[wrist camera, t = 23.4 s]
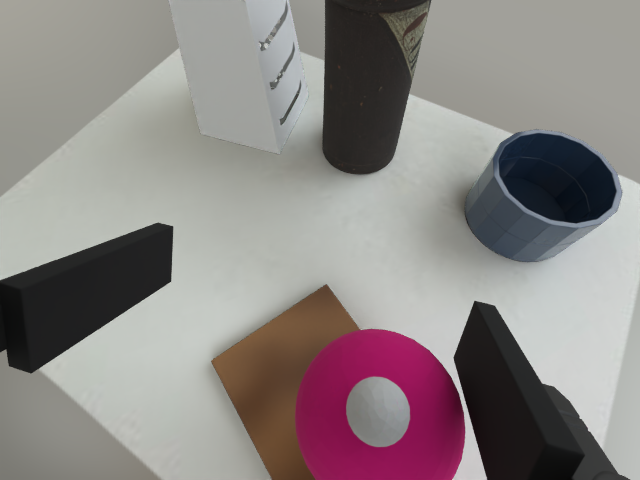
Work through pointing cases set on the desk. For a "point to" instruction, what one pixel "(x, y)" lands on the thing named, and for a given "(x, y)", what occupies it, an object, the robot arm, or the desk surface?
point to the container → (368, 78)
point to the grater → (241, 68)
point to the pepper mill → (379, 411)
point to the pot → (541, 195)
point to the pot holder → (280, 376)
